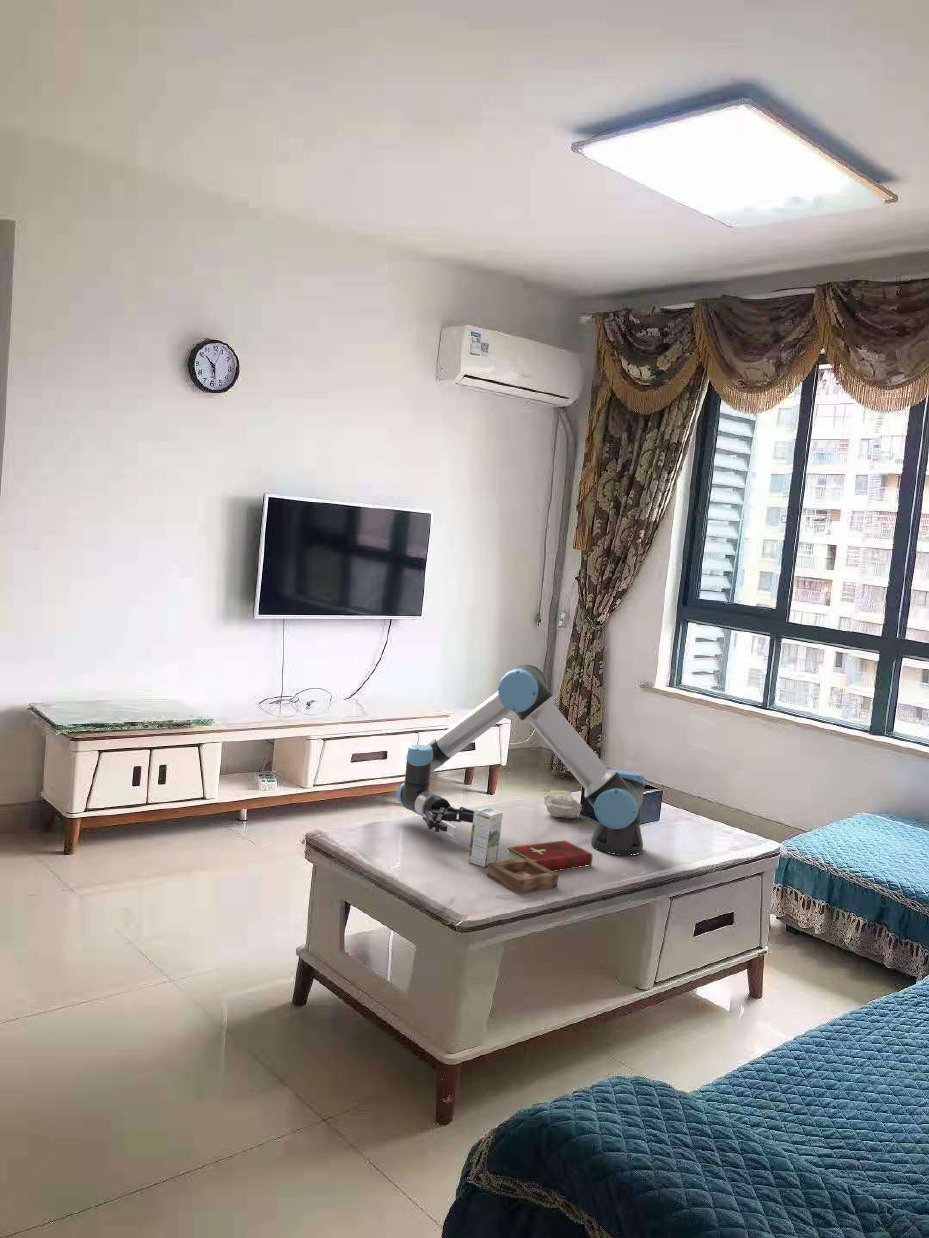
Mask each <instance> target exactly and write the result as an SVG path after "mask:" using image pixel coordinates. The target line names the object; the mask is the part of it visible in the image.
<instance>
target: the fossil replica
mask: <svg viewBox="0 0 929 1238" xmlns="http://www.w3.org/2000/svg"><path fill="white" fill-rule="evenodd" d="M543 803H544V805H545V807H546V810H547V812H548V813H549V814H550V816H553V817H554V818H556V817H557V818H558V817H561V818H560V819H568V818H569V819H570V818H571V819H572V818H573V819H575V818H577V817H578V816H579V815H580V813H581V811H582V809H583V808H582V807H583V805H582V804H581V803H580V802H579V801H578V800H576V799H573V795H572V793H571V791H568V790H556V789H551V790H550V791H548V792H547V793H546V794H545V795H544V798H543ZM562 817H563V818H562ZM565 817H566V818H565Z"/></svg>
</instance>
